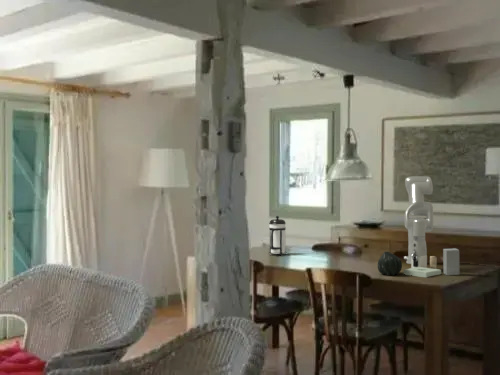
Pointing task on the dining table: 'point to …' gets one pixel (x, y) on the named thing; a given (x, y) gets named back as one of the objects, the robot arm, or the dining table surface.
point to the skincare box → (451, 261)
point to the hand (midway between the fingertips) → (419, 265)
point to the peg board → (422, 272)
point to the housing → (420, 261)
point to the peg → (433, 262)
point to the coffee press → (277, 236)
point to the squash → (389, 264)
